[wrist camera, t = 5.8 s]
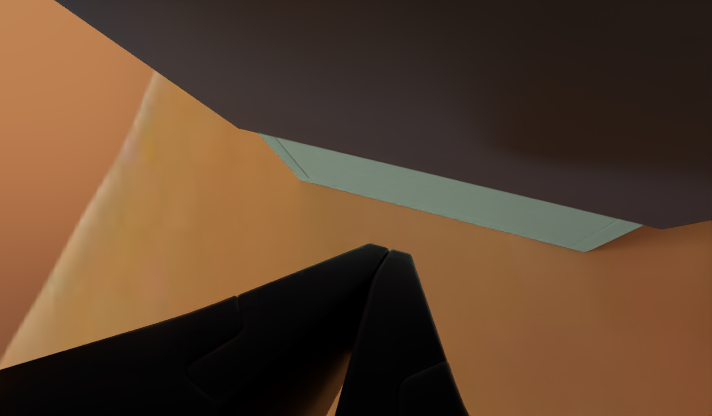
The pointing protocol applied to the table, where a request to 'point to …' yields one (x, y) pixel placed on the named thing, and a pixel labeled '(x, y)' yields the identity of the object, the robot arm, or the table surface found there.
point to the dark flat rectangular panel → (459, 88)
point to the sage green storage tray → (450, 197)
